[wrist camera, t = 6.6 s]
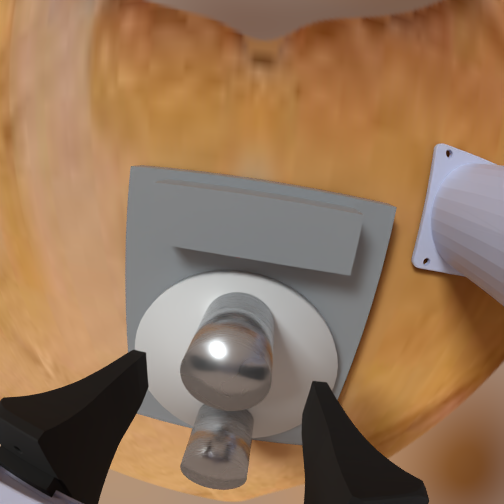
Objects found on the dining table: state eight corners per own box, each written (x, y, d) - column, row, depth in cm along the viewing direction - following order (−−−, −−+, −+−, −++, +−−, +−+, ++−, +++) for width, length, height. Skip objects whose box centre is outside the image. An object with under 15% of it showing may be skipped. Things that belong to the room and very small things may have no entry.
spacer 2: (258, 405, 19) (251, 463, 15) (249, 440, 20) (242, 493, 16) (198, 394, 20) (180, 449, 15) (196, 430, 21) (181, 481, 16)
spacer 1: (275, 293, 17) (273, 343, 12) (273, 354, 18) (269, 413, 13) (202, 290, 17) (175, 337, 12) (206, 350, 18) (185, 406, 14)
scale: (387, 203, 18) (413, 215, 14) (315, 432, 23) (318, 468, 19) (142, 165, 18) (110, 167, 14) (140, 400, 24) (123, 432, 20)
